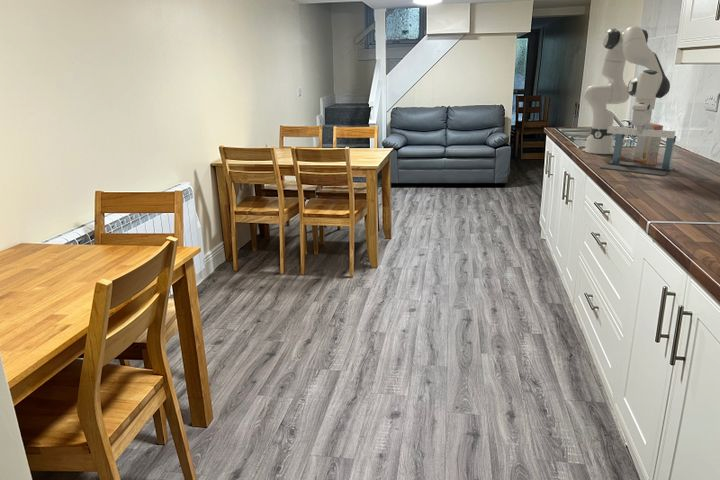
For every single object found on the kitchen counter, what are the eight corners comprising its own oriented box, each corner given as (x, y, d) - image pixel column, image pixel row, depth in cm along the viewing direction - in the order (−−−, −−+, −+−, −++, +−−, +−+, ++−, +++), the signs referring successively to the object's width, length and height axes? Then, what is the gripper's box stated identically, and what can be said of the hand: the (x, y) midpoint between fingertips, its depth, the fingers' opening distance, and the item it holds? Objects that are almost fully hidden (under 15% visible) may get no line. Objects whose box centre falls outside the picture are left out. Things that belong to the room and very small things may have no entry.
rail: (608, 132, 279) (609, 126, 278) (674, 137, 260) (675, 131, 260) (606, 132, 276) (607, 126, 276) (672, 138, 258) (674, 131, 257)
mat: (605, 165, 287) (605, 164, 287) (668, 173, 269) (669, 171, 269) (599, 168, 280) (599, 167, 279) (664, 176, 261) (664, 175, 261)
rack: (611, 162, 295) (616, 130, 289) (673, 169, 277) (680, 135, 271) (607, 164, 289) (612, 132, 284) (670, 172, 271) (676, 137, 265)
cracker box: (656, 165, 287) (664, 125, 280) (645, 165, 287) (652, 125, 280) (644, 160, 300) (650, 122, 294) (633, 160, 300) (639, 122, 294)
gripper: (642, 103, 273) (638, 131, 278) (631, 106, 258) (627, 135, 263) (656, 104, 270) (651, 132, 274) (646, 106, 255) (641, 136, 259)
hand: (639, 134), depth 268 cm, fingers closed on rail, 3 cm apart
